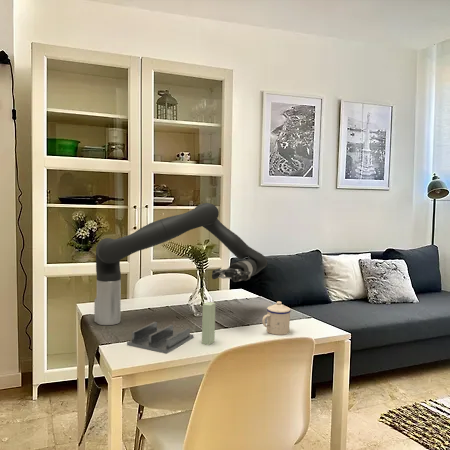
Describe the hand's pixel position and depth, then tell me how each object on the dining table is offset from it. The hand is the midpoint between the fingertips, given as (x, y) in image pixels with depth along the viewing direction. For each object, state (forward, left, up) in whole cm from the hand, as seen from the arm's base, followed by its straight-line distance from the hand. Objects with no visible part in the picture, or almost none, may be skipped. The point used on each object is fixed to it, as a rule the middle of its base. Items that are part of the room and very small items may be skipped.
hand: (223, 277), depth 166 cm
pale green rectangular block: (0, -11, -21) cm, 24 cm away
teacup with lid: (+17, +12, -21) cm, 30 cm away
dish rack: (-15, -18, -21) cm, 32 cm away
